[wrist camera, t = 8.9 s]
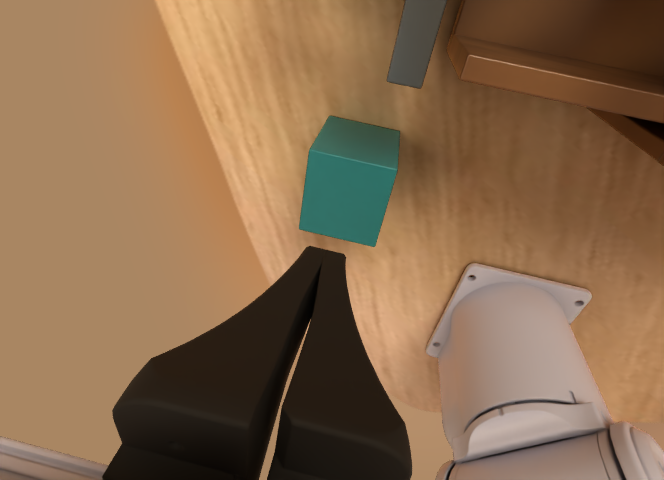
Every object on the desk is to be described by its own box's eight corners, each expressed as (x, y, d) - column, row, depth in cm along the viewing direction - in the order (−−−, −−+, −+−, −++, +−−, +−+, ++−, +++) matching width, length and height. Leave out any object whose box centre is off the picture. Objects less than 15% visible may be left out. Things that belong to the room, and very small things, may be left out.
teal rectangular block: (381, 199, 23) (374, 247, 19) (318, 185, 23) (298, 229, 19) (400, 130, 20) (398, 169, 16) (329, 115, 20) (308, 149, 16)
